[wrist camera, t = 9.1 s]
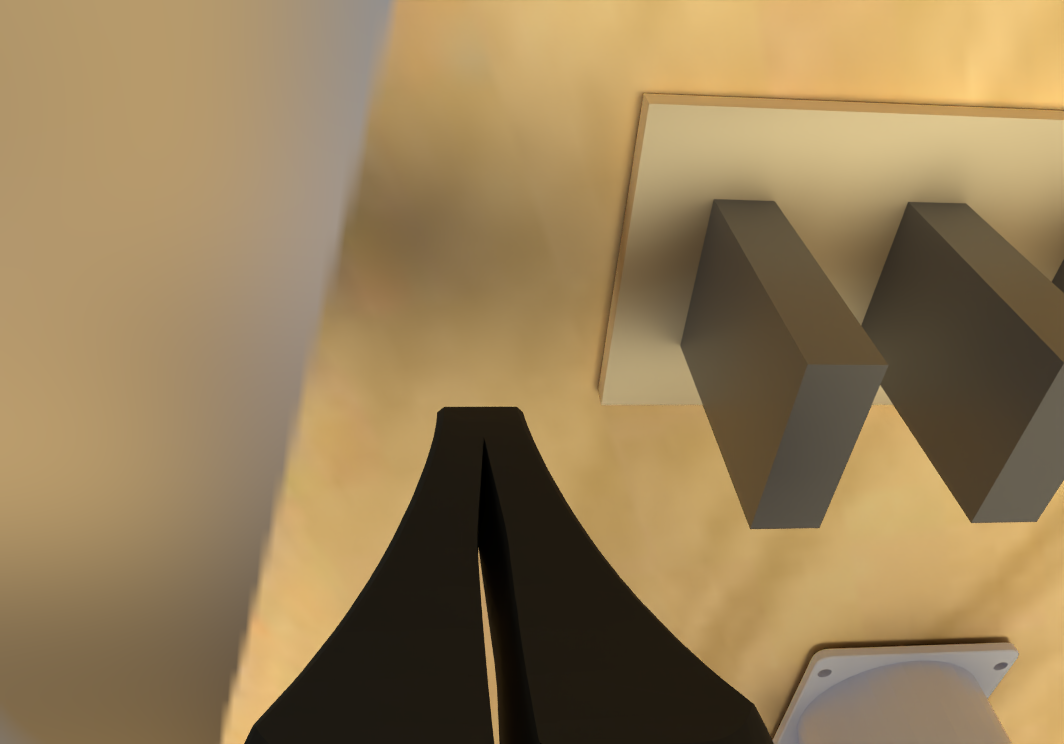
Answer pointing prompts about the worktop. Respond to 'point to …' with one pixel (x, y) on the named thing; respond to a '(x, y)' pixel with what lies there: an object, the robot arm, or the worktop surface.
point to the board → (810, 203)
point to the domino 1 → (776, 364)
